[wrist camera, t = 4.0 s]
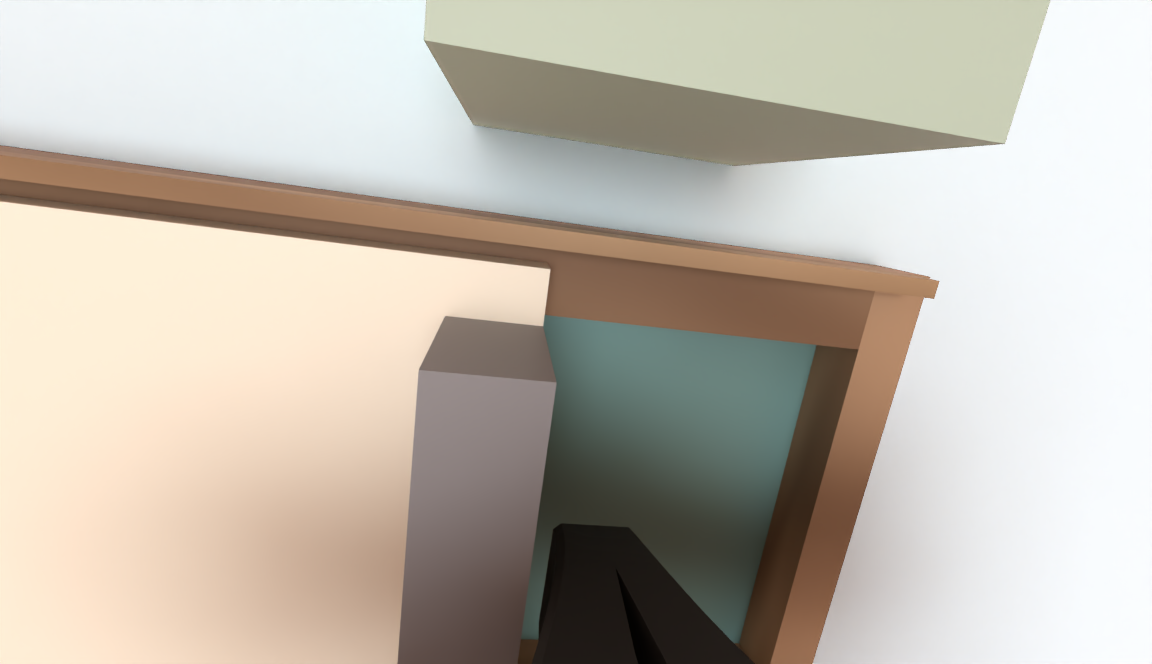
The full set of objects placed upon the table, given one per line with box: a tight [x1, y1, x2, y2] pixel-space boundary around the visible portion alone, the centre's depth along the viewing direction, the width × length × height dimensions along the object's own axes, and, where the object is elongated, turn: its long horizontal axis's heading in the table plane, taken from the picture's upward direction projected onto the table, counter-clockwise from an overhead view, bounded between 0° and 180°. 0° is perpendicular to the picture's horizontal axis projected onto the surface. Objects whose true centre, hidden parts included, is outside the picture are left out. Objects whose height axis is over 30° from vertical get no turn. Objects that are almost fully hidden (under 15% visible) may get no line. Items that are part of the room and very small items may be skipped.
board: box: [0, 145, 939, 664], centre depth 10 cm, size 11×27×2 cm, turn 82°
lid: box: [0, 195, 557, 664], centre depth 8 cm, size 10×13×3 cm
